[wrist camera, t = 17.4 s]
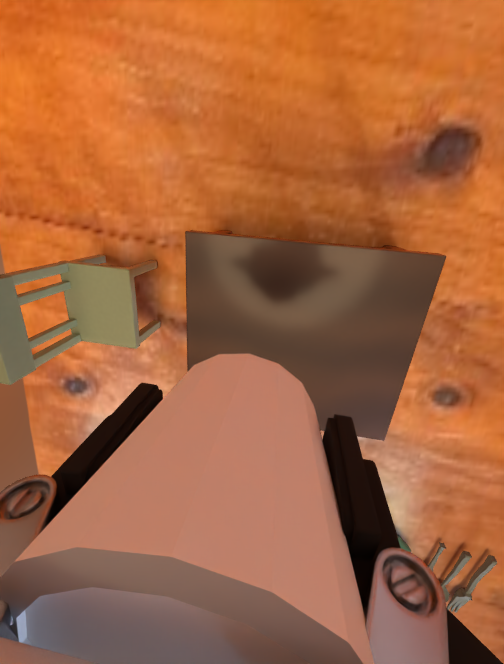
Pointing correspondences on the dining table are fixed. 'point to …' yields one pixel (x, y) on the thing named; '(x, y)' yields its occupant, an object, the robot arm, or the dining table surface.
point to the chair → (71, 311)
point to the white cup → (201, 537)
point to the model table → (313, 315)
